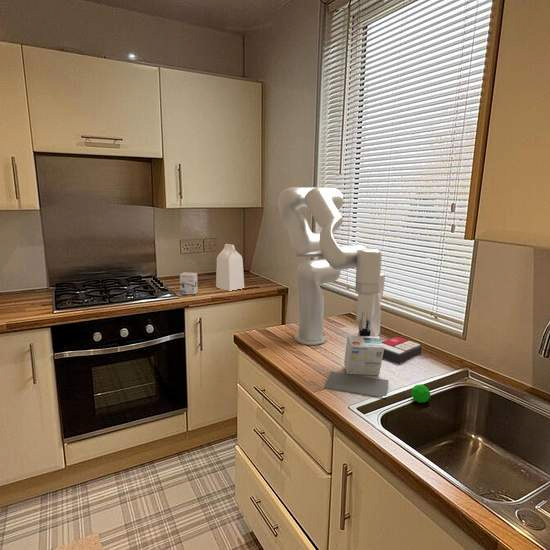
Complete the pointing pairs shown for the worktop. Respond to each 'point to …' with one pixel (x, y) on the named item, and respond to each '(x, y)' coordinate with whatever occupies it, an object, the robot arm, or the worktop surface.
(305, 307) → the robot arm
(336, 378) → the mat
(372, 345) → the light bulb box
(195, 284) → the ink box
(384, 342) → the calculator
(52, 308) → the worktop surface
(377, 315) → the skyscraper
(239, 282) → the milk
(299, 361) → the worktop surface
